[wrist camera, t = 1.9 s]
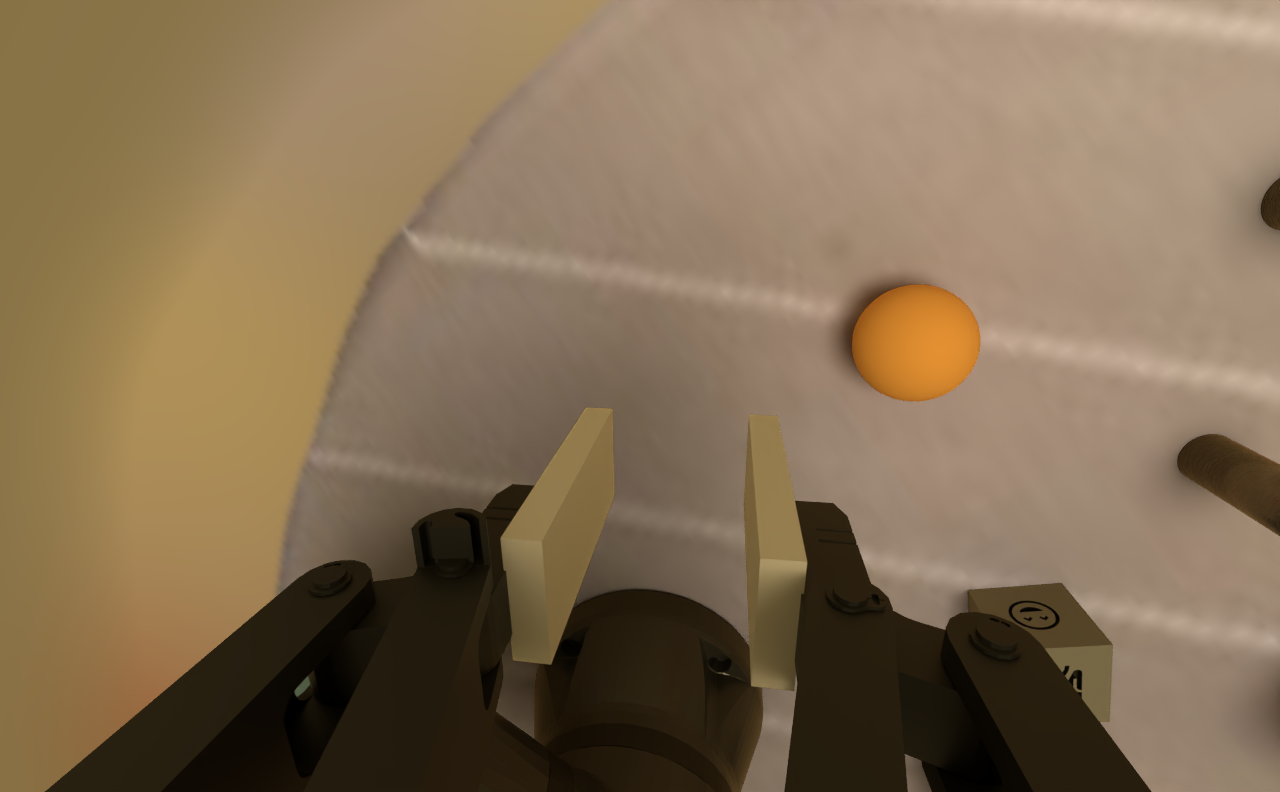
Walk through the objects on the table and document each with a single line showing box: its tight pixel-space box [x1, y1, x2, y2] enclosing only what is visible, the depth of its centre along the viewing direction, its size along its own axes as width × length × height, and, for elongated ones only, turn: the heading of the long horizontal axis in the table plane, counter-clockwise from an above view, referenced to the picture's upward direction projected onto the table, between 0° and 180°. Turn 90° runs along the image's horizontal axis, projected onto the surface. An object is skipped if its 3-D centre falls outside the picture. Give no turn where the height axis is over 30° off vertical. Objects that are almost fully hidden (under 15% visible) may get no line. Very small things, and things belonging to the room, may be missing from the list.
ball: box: [852, 284, 980, 401], centre depth 28 cm, size 6×6×6 cm
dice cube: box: [968, 583, 1113, 722], centre depth 33 cm, size 5×5×5 cm
